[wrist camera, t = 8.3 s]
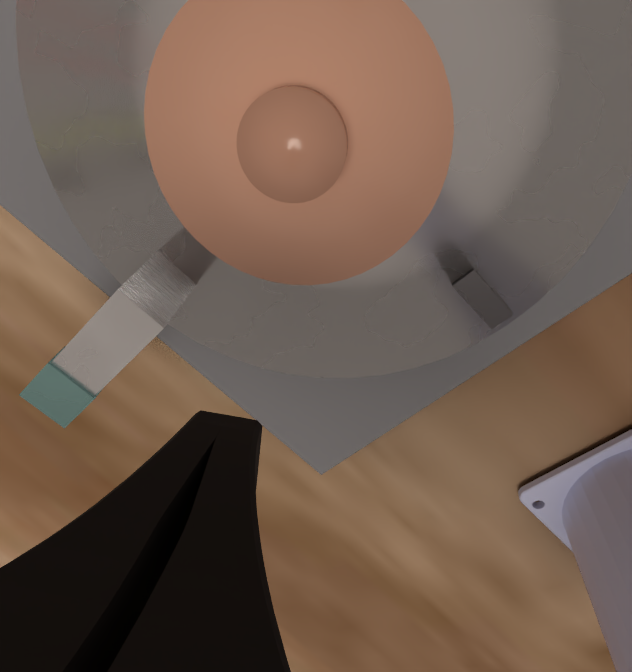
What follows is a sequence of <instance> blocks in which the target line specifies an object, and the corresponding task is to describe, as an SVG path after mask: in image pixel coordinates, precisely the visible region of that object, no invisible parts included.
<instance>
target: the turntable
mask: <svg viewBox="0 0 632 672" xmlns="http://www.w3.org/2000/svg"><path fill="white" fill-rule="evenodd" d="M187 1H188V0H16V37H17V51H18V65H19V72H20V78H21V83H22V89H23V94H24V99H25V105H26V110H27V114H28V117H29V121H30V124H31V127H32V131H33V134H34V137H35V141H36V144H37V148H38V151H39V154H40V156H41V158H42V161H43V163H44V165H45V168H46V170H47V173H48V175H49V177H50V180H51V182H52V185H53V187H54V189H55V191H56V193H57V195H58V197H59V198H60V200H61V202H62V204H63V206H64V208H65V209H66V211H67V213H68V215H69V217H70V218H71V220H72V222H73V224H74V225H75V227H76V228H77V229H78V231H79V232H80V234H81V235H82V237H83V238H84V240H85V241H86V243H87V244H88V245H89V247H90V248H91V250H92V251H93V253H94V254H95V255H96V256H97V257H98V259H99V260H100V261H101V262H102V263H103V264H104V266H105V267H106V268H107V269H108V270H109V271H110V273H111V274H112V275H113V276H114V277H115V278H116V280H117V281H118V282H119V283H120V284H121V285H122V286H121V287H120V288H119V289H118V290H117V291H116V292H115V293H114V294H113V295H112V296H111V297H110V298H109V299H108V301H107V302H106V303H105V304H104V305H103V306H102V307H101V308H100V309H99V310H98V312H97V313H96V314H95V315H94V316H93V317H92V318H91V319H90V320H89V321H88V322H87V324H86V325H85V326H84V327H83V328H82V329H81V330H80V331H79V332H78V333H77V335H76V336H75V337H74V338H73V339H72V340H71V341H70V342H69V343H68V344H67V346H65V347H64V348H63V349H62V350H61V351H60V352H59V353H58V354H57V355H56V356H55V357H54V358H53V359H52V360H51V361H50V362H48V364H47V365H46V366H45V367H44V368H43V369H42V370H41V371H40V372H39V373H38V375H37V376H36V377H35V378H34V379H33V380H32V381H31V382H30V383H29V384H28V386H27V387H26V388H25V389H24V390H23V391H22V392H21V393H20V394H19V395H20V396H21V397H22V398H24V399H25V400H26V401H28V402H29V403H30V404H32V405H33V406H35V407H36V408H37V409H39V410H40V411H41V412H43V413H44V414H45V415H47V416H48V417H50V418H51V419H52V420H54V421H55V422H56V423H58V424H59V425H60V426H62V427H63V428H65V427H66V426H67V425H68V424H69V423H70V422H71V421H72V420H73V419H75V418H76V417H77V416H78V415H79V414H80V413H81V412H82V411H83V410H84V409H85V408H86V407H87V406H88V405H89V404H90V403H91V402H92V401H93V400H94V399H95V398H96V397H97V395H98V394H99V393H100V391H101V390H102V389H103V388H104V386H106V385H107V384H108V383H109V382H110V381H111V380H112V379H113V378H114V377H115V376H116V375H117V374H118V373H119V372H120V371H121V370H122V369H123V368H124V367H125V366H126V365H127V364H128V363H129V362H130V361H131V360H132V359H133V358H134V357H135V356H136V355H137V354H138V353H139V352H140V351H141V350H142V349H143V348H144V347H145V346H146V345H147V344H148V343H149V342H150V341H152V340H153V339H154V338H155V337H156V336H157V335H158V334H159V333H160V332H161V331H162V330H163V329H164V328H165V326H166V325H167V324H169V325H170V326H172V327H173V328H175V329H177V330H178V331H180V332H182V333H183V334H185V335H186V336H188V337H190V338H191V339H193V340H195V341H196V342H198V343H200V344H202V345H204V346H206V347H209V348H211V349H213V350H215V351H217V352H219V353H221V354H223V355H225V356H228V357H231V358H234V359H236V360H239V361H242V362H245V363H248V364H251V365H253V366H256V367H261V368H265V369H269V370H273V371H278V372H282V373H286V374H293V375H301V376H309V377H317V378H356V377H366V376H377V375H384V374H389V373H394V372H399V371H403V370H408V369H413V368H416V367H419V366H422V365H425V364H429V363H432V362H435V361H438V360H441V359H444V358H446V357H449V356H451V355H453V354H455V353H457V352H460V351H462V350H464V349H466V348H468V347H471V346H473V345H475V344H477V343H479V342H480V341H482V340H484V339H485V338H487V337H489V336H490V335H492V334H494V333H495V332H497V331H499V330H500V329H502V328H504V327H505V326H507V325H508V324H510V323H511V322H512V321H514V320H515V319H516V318H518V317H519V316H520V315H522V314H523V313H524V312H526V311H527V310H528V309H529V308H531V307H532V306H533V305H535V304H536V303H537V302H538V301H539V300H540V299H541V298H542V297H543V296H544V295H546V294H547V293H548V292H549V291H550V290H551V289H552V288H553V287H554V286H555V285H556V284H557V283H558V282H559V281H560V280H561V279H562V278H563V277H564V276H565V275H566V274H567V273H568V272H569V270H570V269H571V268H572V267H573V266H574V264H575V263H576V262H577V261H578V260H579V258H580V257H581V256H582V255H583V253H584V252H585V251H586V250H587V249H588V247H589V246H590V245H591V243H592V242H593V240H594V239H595V237H596V236H597V234H598V233H599V231H600V230H601V228H602V227H603V225H604V224H605V222H606V221H607V219H608V218H609V216H610V215H611V213H612V211H613V210H614V208H615V206H616V204H617V202H618V200H619V198H620V196H621V194H622V192H623V190H624V188H625V186H626V184H627V182H628V180H629V178H630V176H631V174H632V0H402V1H403V2H405V3H406V5H407V6H408V7H409V8H410V9H411V11H412V12H413V13H414V14H415V15H416V17H417V18H418V19H419V20H420V21H421V23H422V25H423V26H424V28H425V29H426V31H427V33H428V34H429V36H430V38H431V39H432V41H433V42H434V45H435V47H436V49H437V51H438V54H439V56H440V58H441V60H442V63H443V65H444V69H445V72H446V76H447V79H448V82H449V86H450V92H451V98H452V104H453V117H454V136H453V146H452V155H451V159H450V164H449V168H448V172H447V176H446V179H445V181H444V184H443V187H442V190H441V192H440V195H439V197H438V199H437V201H436V203H435V205H434V207H433V208H432V210H431V212H430V214H429V215H428V217H427V218H426V220H425V221H424V223H423V224H422V225H421V227H420V228H419V230H418V231H417V232H416V233H415V234H414V235H413V236H412V237H411V239H410V240H409V241H408V242H407V243H406V244H405V245H404V246H403V247H401V248H400V249H399V250H398V251H397V252H396V253H395V254H393V255H392V256H391V257H389V258H388V259H386V260H385V261H383V262H382V263H380V264H379V265H377V266H375V267H373V268H371V269H369V270H368V271H366V272H364V273H362V274H359V275H356V276H353V277H351V278H348V279H345V280H341V281H336V282H332V283H328V284H318V285H289V284H283V283H276V282H272V281H268V280H264V279H260V278H257V277H254V276H252V275H249V274H247V273H244V272H242V271H240V270H238V269H236V268H234V267H232V266H231V265H229V264H227V263H225V262H224V261H222V260H221V259H219V258H218V257H216V256H215V255H214V254H212V253H211V252H209V251H208V250H207V249H206V248H205V247H204V246H203V245H202V244H200V243H199V242H198V241H197V240H196V239H195V238H194V237H193V236H192V235H191V234H190V232H189V231H188V230H187V229H186V228H185V227H184V226H183V225H182V223H181V222H180V220H179V219H178V218H177V216H176V215H175V213H174V212H173V211H172V209H171V207H170V206H169V204H168V202H167V200H166V198H165V197H164V195H163V193H162V191H161V189H160V186H159V184H158V181H157V179H156V177H155V174H154V171H153V168H152V164H151V161H150V157H149V154H148V148H147V142H146V136H145V123H144V104H145V91H146V86H147V81H148V75H149V70H150V67H151V64H152V61H153V58H154V55H155V52H156V49H157V47H158V45H159V43H160V41H161V39H162V37H163V35H164V33H165V31H166V29H167V27H168V26H169V24H170V23H171V21H172V20H173V18H174V17H175V16H176V14H177V13H178V11H179V10H180V9H181V8H182V7H183V5H184V4H185V3H186V2H187Z"/></svg>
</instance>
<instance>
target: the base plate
mask: <svg viewBox="0 0 632 672" xmlns="http://www.w3.org/2000/svg"><path fill="white" fill-rule="evenodd" d="M0 205H1V206H2V207H3V208H5V209H6V210H7V211H8V212H9V213H11V214H12V215H13V216H14V217H15V218H16V219H18V220H19V221H20V222H21V223H22V224H24V225H25V226H26V227H27V228H28V229H30V230H31V231H32V232H33V233H34V234H35V235H37V236H38V237H39V238H40V239H41V240H43V241H44V242H45V243H46V244H47V245H49V246H50V247H51V248H52V249H53V250H55V251H56V252H57V253H58V254H59V255H60V256H62V257H63V258H64V259H65V260H66V261H68V262H69V263H70V264H71V265H72V266H74V267H75V268H76V269H77V270H78V271H80V272H81V273H82V274H83V275H84V276H85V277H87V278H88V279H89V280H90V281H91V282H93V283H94V284H95V285H96V286H97V287H99V288H100V289H101V290H102V291H103V292H104V293H106V294H107V295H108V296H109V297H111V296H112V295H113V294H114V293H115V292H116V291H117V290H118V289H119V288H120V287H121V286H122V285H121V284H120V283H119V282H118V281H117V280H116V278H115V277H114V276H113V275H112V274H111V273H110V271H109V270H108V269H107V268H106V267H105V266H104V264H103V263H102V262H101V261H100V260H99V259H98V257H97V256H96V255H95V254H94V253H93V251H92V250H91V248H90V247H89V245H88V244H87V243H86V241H85V240H84V238H83V237H82V235H81V234H80V232H79V231H78V229H77V228H76V227H75V225H74V224H73V222H72V220H71V218H70V217H69V215H68V213H67V211H66V209H65V208H64V206H63V204H62V202H61V200H60V198H59V197H58V195H57V193H56V191H55V189H54V187H53V185H52V182H51V180H50V177H49V175H48V173H47V170H46V168H45V165H44V163H43V161H42V158H41V156H40V154H39V151H38V148H37V144H36V141H35V137H34V134H33V131H32V127H31V124H30V121H29V117H28V114H27V110H26V105H25V99H24V94H23V89H22V83H21V78H20V72H19V65H18V51H17V37H16V0H0ZM631 273H632V174H631V176H630V178H629V180H628V182H627V184H626V186H625V188H624V190H623V192H622V194H621V196H620V198H619V200H618V202H617V204H616V206H615V208H614V210H613V211H612V213H611V215H610V216H609V218H608V219H607V221H606V222H605V224H604V225H603V227H602V228H601V230H600V231H599V233H598V234H597V236H596V237H595V239H594V240H593V242H592V243H591V245H590V246H589V247H588V249H587V250H586V251H585V252H584V253H583V255H582V256H581V257H580V258H579V260H578V261H577V262H576V263H575V264H574V266H573V267H572V268H571V269H570V270H569V272H568V273H567V274H566V275H565V276H564V277H563V278H562V279H561V280H560V281H559V282H558V283H557V284H556V285H555V286H554V287H553V288H552V289H551V290H550V291H549V292H548V293H547V294H546V295H544V296H543V297H542V298H541V299H540V300H539V301H538V302H537V303H536V304H535V305H533V306H532V307H531V308H529V309H528V310H527V311H526V312H524V313H523V314H522V315H520V316H519V317H518V318H516V319H515V320H514V321H512V322H511V323H510V324H508V325H507V326H505V327H504V328H502V329H500V330H499V331H497V332H495V333H494V334H492V335H490V336H489V337H487V338H485V339H484V340H482V341H480V342H479V343H477V344H475V345H473V346H471V347H468V348H466V349H464V350H462V351H460V352H457V353H455V354H453V355H451V356H449V357H446V358H444V359H441V360H438V361H435V362H432V363H429V364H425V365H422V366H419V367H416V368H413V369H408V370H403V371H399V372H394V373H389V374H384V375H377V376H366V377H356V378H317V377H309V376H301V375H293V374H286V373H282V372H278V371H273V370H269V369H265V368H261V367H256V366H253V365H251V364H248V363H245V362H242V361H239V360H236V359H234V358H231V357H228V356H225V355H223V354H221V353H219V352H217V351H215V350H213V349H211V348H209V347H206V346H204V345H202V344H200V343H198V342H196V341H195V340H193V339H191V338H190V337H188V336H186V335H185V334H183V333H182V332H180V331H178V330H177V329H175V328H173V327H172V326H170V325H169V324H167V325H166V326H165V328H164V329H163V330H162V331H161V332H160V333H159V334H158V335H157V337H158V338H159V339H160V340H162V341H163V342H164V343H165V344H166V345H168V346H169V347H170V348H171V349H172V350H173V351H175V352H176V353H177V354H178V355H179V356H181V357H182V358H183V359H184V360H185V361H187V362H188V363H189V364H190V365H191V366H192V367H194V368H195V369H196V370H197V371H198V372H200V373H201V374H202V375H203V376H204V377H206V378H207V379H208V380H209V381H210V382H212V383H213V384H214V385H215V386H216V387H217V388H219V389H220V390H221V391H222V392H223V393H225V394H226V395H227V396H228V397H229V398H231V399H232V400H233V401H234V402H235V403H236V404H238V405H239V406H240V407H241V408H242V409H244V410H245V411H246V412H247V413H248V414H250V415H251V416H252V417H253V418H254V419H256V420H258V422H259V423H260V424H261V425H263V426H264V427H265V428H266V429H267V430H269V431H270V432H271V433H272V434H273V435H275V436H276V437H277V438H278V439H279V440H281V441H282V442H283V443H284V444H285V445H286V446H288V447H289V448H290V449H291V450H292V451H294V452H295V453H296V454H297V455H298V456H300V457H301V458H302V459H303V460H304V461H305V462H307V463H308V464H309V465H310V466H311V467H313V468H314V469H315V470H316V471H317V472H319V473H320V474H321V475H322V474H323V473H325V472H326V471H328V470H329V469H331V468H332V467H334V466H336V465H337V464H339V463H340V462H342V461H343V460H345V459H346V458H348V457H349V456H351V455H352V454H354V453H356V452H357V451H359V450H360V449H362V448H363V447H365V446H366V445H368V444H369V443H371V442H372V441H374V440H376V439H377V438H379V437H380V436H382V435H383V434H385V433H386V432H388V431H389V430H391V429H392V428H394V427H396V426H397V425H399V424H400V423H402V422H403V421H405V420H406V419H408V418H409V417H411V416H412V415H414V414H416V413H417V412H419V411H420V410H422V409H423V408H425V407H426V406H428V405H429V404H431V403H432V402H434V401H436V400H437V399H439V398H440V397H442V396H443V395H445V394H446V393H448V392H449V391H451V390H452V389H454V388H456V387H457V386H459V385H460V384H462V383H463V382H465V381H466V380H468V379H469V378H471V377H472V376H474V375H476V374H477V373H479V372H480V371H482V370H483V369H485V368H486V367H488V366H489V365H491V364H492V363H494V362H496V361H497V360H499V359H500V358H502V357H503V356H505V355H506V354H508V353H509V352H511V351H512V350H514V349H516V348H517V347H519V346H520V345H522V344H523V343H525V342H526V341H528V340H529V339H531V338H532V337H534V336H536V335H537V334H539V333H540V332H542V331H543V330H545V329H546V328H548V327H549V326H551V325H552V324H554V323H556V322H557V321H559V320H560V319H562V318H563V317H565V316H566V315H568V314H569V313H571V312H572V311H574V310H576V309H577V308H579V307H580V306H582V305H583V304H585V303H586V302H588V301H589V300H591V299H592V298H594V297H596V296H597V295H599V294H600V293H602V292H603V291H605V290H606V289H608V288H609V287H611V286H612V285H614V284H616V283H617V282H619V281H620V280H622V279H623V278H625V277H626V276H628V275H629V274H631Z"/></svg>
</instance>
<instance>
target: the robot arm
mask: <svg viewBox="0 0 632 672" xmlns="http://www.w3.org/2000/svg"><path fill="white" fill-rule="evenodd" d="M261 434H262V425H261V424H260V423H259V422H258V420H252V419H246V418H241V417H235V416H229V415H224V414H218V413H212V412H206V411H199V412H198V413H196V414H195V415H194V416H193V417H192V418H191V419H190V420H189V421H188V422H187V423H186V424H185V425H184V426H183V427H182V428H181V429H180V430H179V431H178V432H177V433H176V434H175V435H174V436H173V437H172V438H171V439H170V440H169V441H168V442H167V443H166V444H165V445H164V446H163V447H162V448H161V449H160V450H159V451H158V452H156V453H155V454H154V455H153V456H152V457H151V458H150V459H149V460H148V461H146V462H145V463H144V464H143V465H142V466H141V467H140V468H139V469H137V470H136V471H135V472H134V473H133V474H132V475H131V476H130V477H128V478H127V479H126V480H125V481H124V482H122V483H121V484H120V485H119V486H117V487H116V488H115V489H114V490H112V491H111V492H110V493H109V494H107V495H106V496H105V497H104V498H102V499H101V500H100V501H99V502H98V503H96V504H95V505H94V506H92V507H91V508H90V509H88V510H87V511H86V512H84V513H83V514H82V515H80V516H79V517H78V518H76V519H75V520H73V521H72V522H71V523H69V524H68V525H66V526H65V527H63V528H62V529H61V530H59V531H58V532H56V533H55V534H53V535H52V536H50V537H49V538H47V539H46V540H44V541H43V542H41V543H40V544H38V545H36V546H35V547H33V548H32V549H30V550H29V551H27V552H25V553H24V554H22V555H21V556H19V557H17V558H16V559H14V560H13V561H11V562H10V563H8V564H6V565H4V566H3V567H1V568H0V672H291V671H290V668H289V665H288V661H287V658H286V654H285V650H284V647H283V643H282V639H281V636H280V632H279V628H278V625H277V621H276V617H275V614H274V609H273V605H272V601H271V596H270V592H269V587H268V582H267V577H266V572H265V567H264V561H263V555H262V549H261V542H260V535H259V526H258V518H257V507H256V485H257V475H258V464H259V454H260V444H261ZM518 495H519V499H520V501H521V502H522V503H523V504H524V505H525V506H526V507H527V508H528V509H529V510H530V511H531V512H532V513H533V514H534V515H535V516H536V517H537V518H538V519H539V520H540V521H541V522H542V523H543V524H544V525H545V526H546V527H547V528H548V529H549V530H551V531H552V532H553V533H554V534H555V535H556V536H557V537H558V538H559V539H560V540H561V541H562V542H563V543H564V544H565V545H566V546H567V547H568V548H569V549H570V550H571V551H572V552H573V553H574V555H575V558H576V561H577V564H578V566H579V569H580V572H581V575H582V578H583V580H584V583H585V586H586V589H587V591H588V594H589V597H590V600H591V602H592V605H593V608H594V611H595V614H596V616H597V619H598V622H599V625H600V627H601V630H602V633H603V636H604V638H605V641H606V644H607V647H608V650H609V652H610V655H611V658H612V661H613V663H614V666H615V669H616V672H632V429H631V430H629V431H627V432H625V433H623V434H621V435H620V436H618V437H616V438H614V439H612V440H610V441H608V442H606V443H604V444H602V445H600V446H599V447H597V448H595V449H593V450H591V451H589V452H587V453H585V454H583V455H581V456H579V457H577V458H576V459H574V460H572V461H570V462H568V463H566V464H564V465H562V466H560V467H558V468H556V469H554V470H553V471H551V472H549V473H547V474H545V475H543V476H541V477H539V478H537V479H535V480H533V481H532V482H530V483H528V484H526V485H524V486H522V487H521V488H520V489H519V491H518ZM538 500H539V501H540V502H535V501H538Z"/></svg>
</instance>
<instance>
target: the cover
mask: <svg viewBox="0 0 632 672" xmlns="http://www.w3.org/2000/svg"><path fill="white" fill-rule="evenodd" d="M144 123H145V136H146V142H147V148H148V154H149V157H150V161H151V164H152V168H153V171H154V174H155V177H156V179H157V181H158V184H159V186H160V189H161V191H162V193H163V195H164V197H165V198H166V200H167V202H168V204H169V206H170V207H171V209H172V211H173V212H174V213H175V215H176V216H177V218H178V219H179V220H180V222H181V223H182V225H183V226H184V227H185V228H186V229H187V230H188V231H189V232H190V234H191V235H192V236H193V237H194V238H195V239H196V240H197V241H198V242H199V243H200V244H202V245H203V246H204V247H205V248H206V249H207V250H208V251H209V252H211V253H212V254H214V255H215V256H216V257H218V258H219V259H221V260H222V261H224V262H225V263H227V264H229V265H231V266H232V267H234V268H236V269H238V270H240V271H242V272H244V273H247V274H249V275H252V276H254V277H257V278H260V279H264V280H268V281H272V282H276V283H283V284H289V285H318V284H328V283H332V282H336V281H341V280H345V279H348V278H351V277H353V276H356V275H359V274H362V273H364V272H366V271H368V270H369V269H371V268H373V267H375V266H377V265H379V264H380V263H382V262H383V261H385V260H386V259H388V258H389V257H391V256H392V255H393V254H395V253H396V252H397V251H398V250H399V249H400V248H401V247H403V246H404V245H405V244H406V243H407V242H408V241H409V240H410V239H411V237H412V236H413V235H414V234H415V233H416V232H417V231H418V230H419V228H420V227H421V225H422V224H423V223H424V221H425V220H426V218H427V217H428V215H429V214H430V212H431V210H432V208H433V207H434V205H435V203H436V201H437V199H438V197H439V195H440V192H441V190H442V187H443V184H444V181H445V179H446V176H447V172H448V168H449V164H450V159H451V155H452V146H453V136H454V117H453V104H452V98H451V92H450V86H449V82H448V79H447V76H446V72H445V69H444V65H443V63H442V60H441V58H440V56H439V54H438V51H437V49H436V47H435V45H434V42H433V41H432V39H431V38H430V36H429V34H428V33H427V31H426V29H425V28H424V26H423V25H422V23H421V21H420V20H419V19H418V18H417V17H416V15H415V14H414V13H413V12H412V11H411V9H410V8H409V7H408V6H407V5H406V3H405V2H403V1H402V0H188V1H187V2H186V3H185V4H184V5H183V7H182V8H181V9H180V10H179V11H178V13H177V14H176V16H175V17H174V18H173V20H172V21H171V23H170V24H169V26H168V27H167V29H166V31H165V33H164V35H163V37H162V39H161V41H160V43H159V45H158V47H157V49H156V52H155V55H154V58H153V61H152V64H151V67H150V70H149V75H148V81H147V86H146V91H145V104H144Z"/></svg>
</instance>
